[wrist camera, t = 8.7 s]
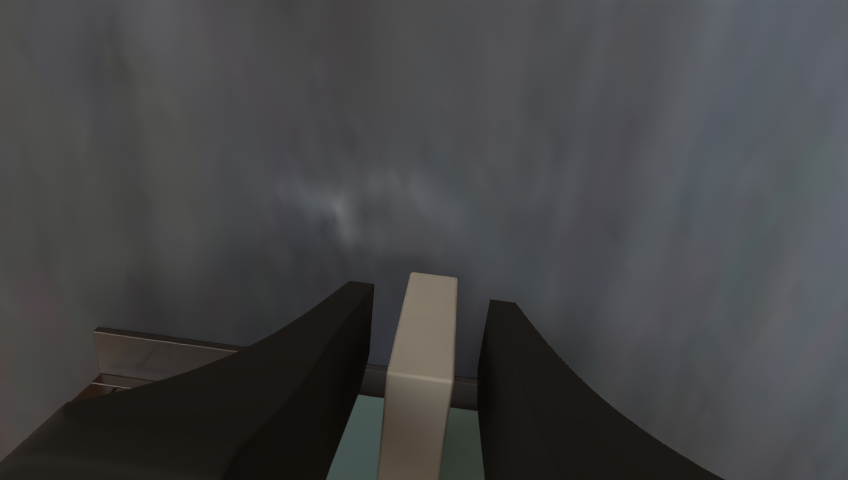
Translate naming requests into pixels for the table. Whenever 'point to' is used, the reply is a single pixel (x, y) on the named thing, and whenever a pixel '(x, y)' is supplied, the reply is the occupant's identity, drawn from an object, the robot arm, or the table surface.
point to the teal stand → (415, 401)
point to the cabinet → (165, 357)
